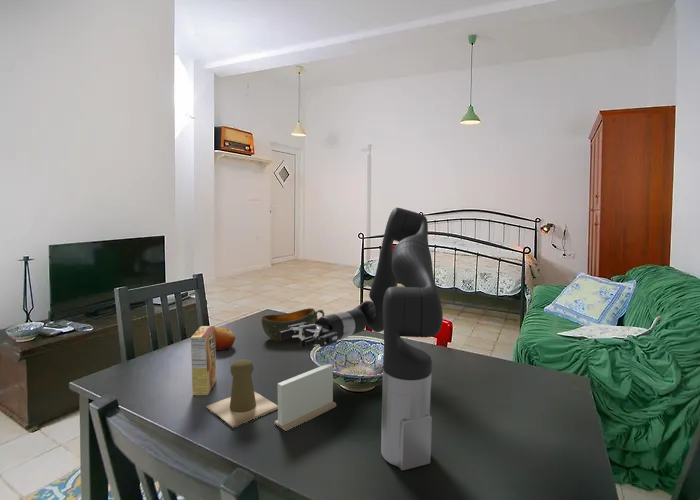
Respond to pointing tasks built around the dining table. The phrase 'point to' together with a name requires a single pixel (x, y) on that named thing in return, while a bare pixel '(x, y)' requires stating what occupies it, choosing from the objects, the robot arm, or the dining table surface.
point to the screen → (305, 397)
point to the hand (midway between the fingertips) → (290, 340)
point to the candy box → (203, 360)
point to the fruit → (224, 338)
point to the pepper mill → (242, 386)
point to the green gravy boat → (288, 323)
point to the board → (238, 418)
